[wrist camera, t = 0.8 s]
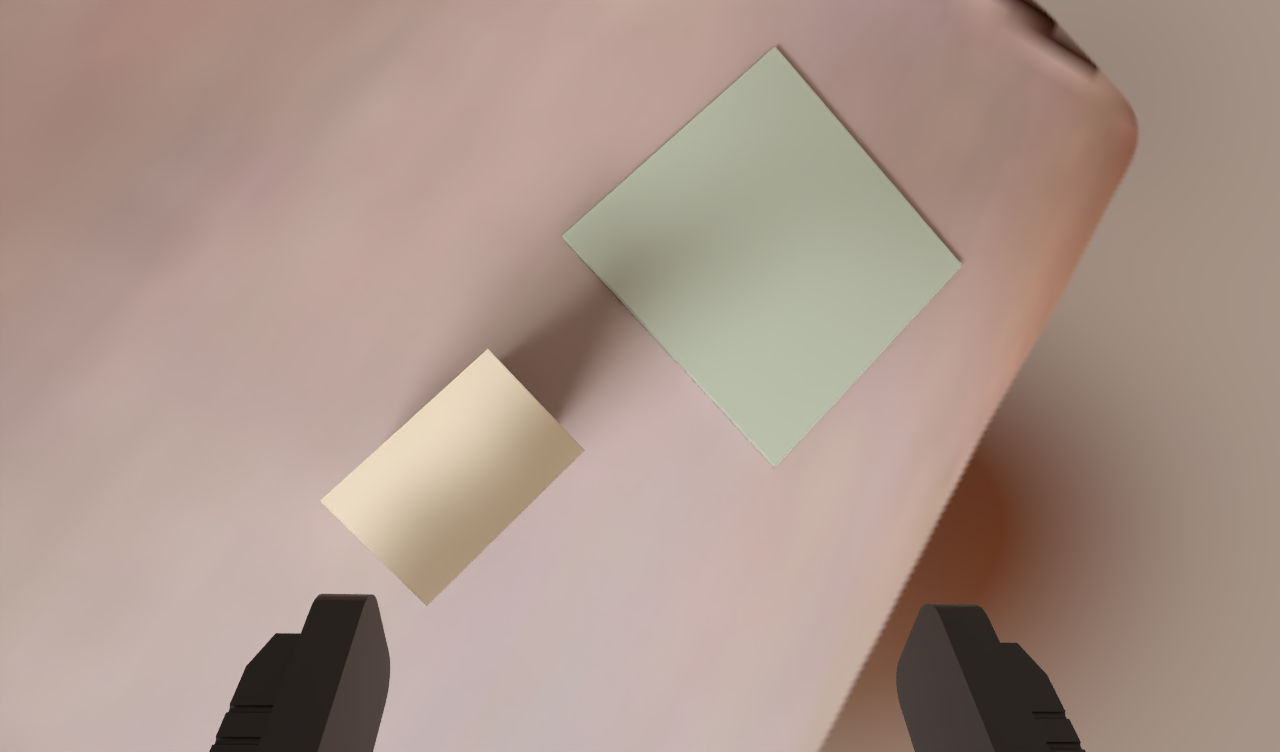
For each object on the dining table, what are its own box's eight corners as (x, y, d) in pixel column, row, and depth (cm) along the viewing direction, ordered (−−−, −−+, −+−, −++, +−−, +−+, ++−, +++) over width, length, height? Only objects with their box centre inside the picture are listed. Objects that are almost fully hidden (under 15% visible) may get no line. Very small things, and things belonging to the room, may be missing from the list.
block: (363, 480, 31) (319, 500, 21) (474, 379, 33) (487, 348, 22) (433, 550, 32) (426, 605, 21) (540, 447, 33) (584, 450, 22)
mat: (561, 237, 34) (563, 234, 34) (771, 50, 37) (774, 46, 37) (772, 466, 35) (776, 466, 35) (957, 267, 39) (962, 265, 38)
